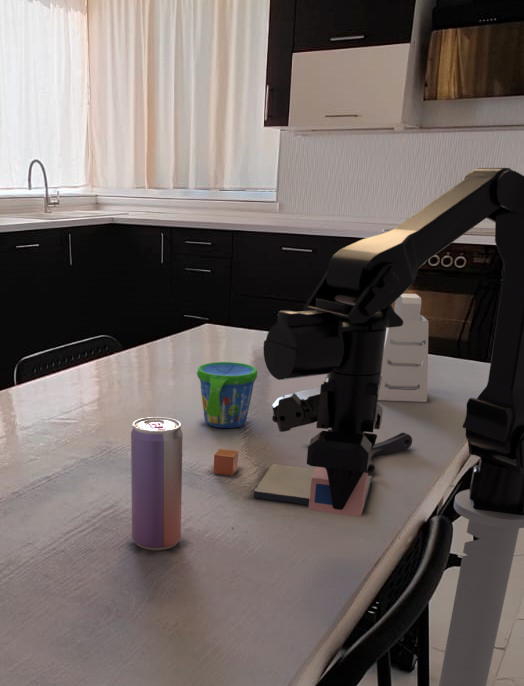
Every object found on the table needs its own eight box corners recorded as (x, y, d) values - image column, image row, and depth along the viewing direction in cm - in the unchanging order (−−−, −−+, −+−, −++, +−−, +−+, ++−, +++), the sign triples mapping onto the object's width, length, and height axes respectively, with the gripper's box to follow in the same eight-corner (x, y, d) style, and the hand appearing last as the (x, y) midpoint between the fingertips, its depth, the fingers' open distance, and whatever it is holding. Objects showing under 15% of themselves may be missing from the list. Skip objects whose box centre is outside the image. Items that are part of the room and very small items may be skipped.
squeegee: (440, 461, 122) (442, 444, 121) (365, 475, 116) (367, 457, 115) (379, 436, 134) (381, 421, 133) (309, 447, 128) (310, 431, 127)
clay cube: (237, 469, 118) (238, 450, 117) (232, 475, 116) (233, 457, 114) (218, 467, 119) (219, 448, 118) (213, 473, 116) (214, 454, 115)
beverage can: (138, 554, 91) (137, 433, 85) (127, 534, 96) (125, 418, 90) (186, 549, 92) (189, 429, 86) (173, 529, 98) (174, 414, 92)
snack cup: (235, 439, 132) (238, 381, 127) (180, 430, 136) (181, 373, 132) (267, 416, 144) (270, 362, 140) (215, 409, 149) (217, 356, 145)
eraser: (364, 504, 91) (368, 472, 90) (360, 517, 88) (364, 484, 86) (313, 497, 93) (316, 466, 91) (308, 509, 89) (311, 477, 88)
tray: (371, 482, 114) (372, 475, 113) (362, 512, 103) (363, 505, 103) (271, 469, 118) (271, 463, 118) (253, 497, 108) (254, 491, 107)
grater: (416, 388, 165) (430, 292, 157) (426, 401, 155) (442, 300, 147) (367, 387, 166) (378, 291, 158) (373, 399, 156) (386, 298, 148)
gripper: (296, 348, 94) (287, 467, 100) (263, 383, 78) (254, 523, 84) (389, 355, 91) (374, 478, 97) (375, 393, 75) (358, 538, 81)
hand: (340, 501), depth 90 cm, fingers closed on eraser, 4 cm apart
